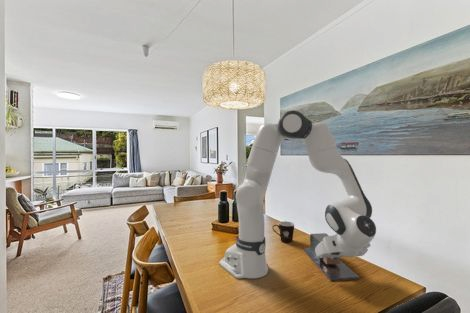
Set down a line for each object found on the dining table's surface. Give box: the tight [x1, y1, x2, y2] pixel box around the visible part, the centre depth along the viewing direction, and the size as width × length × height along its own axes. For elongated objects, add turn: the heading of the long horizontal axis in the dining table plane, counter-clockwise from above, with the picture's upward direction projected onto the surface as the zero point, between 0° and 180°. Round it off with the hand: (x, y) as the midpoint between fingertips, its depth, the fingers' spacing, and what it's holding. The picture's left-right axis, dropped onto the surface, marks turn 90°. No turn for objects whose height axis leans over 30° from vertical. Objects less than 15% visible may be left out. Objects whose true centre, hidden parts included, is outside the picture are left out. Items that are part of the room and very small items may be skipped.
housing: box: [302, 232, 360, 282], centre depth 105 cm, size 28×12×10 cm, turn 5°
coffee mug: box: [271, 220, 295, 244], centre depth 131 cm, size 12×9×10 cm
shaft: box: [323, 257, 341, 264], centre depth 108 cm, size 17×6×9 cm, turn 5°
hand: (334, 257), depth 99 cm, fingers closed, pressing on shaft
